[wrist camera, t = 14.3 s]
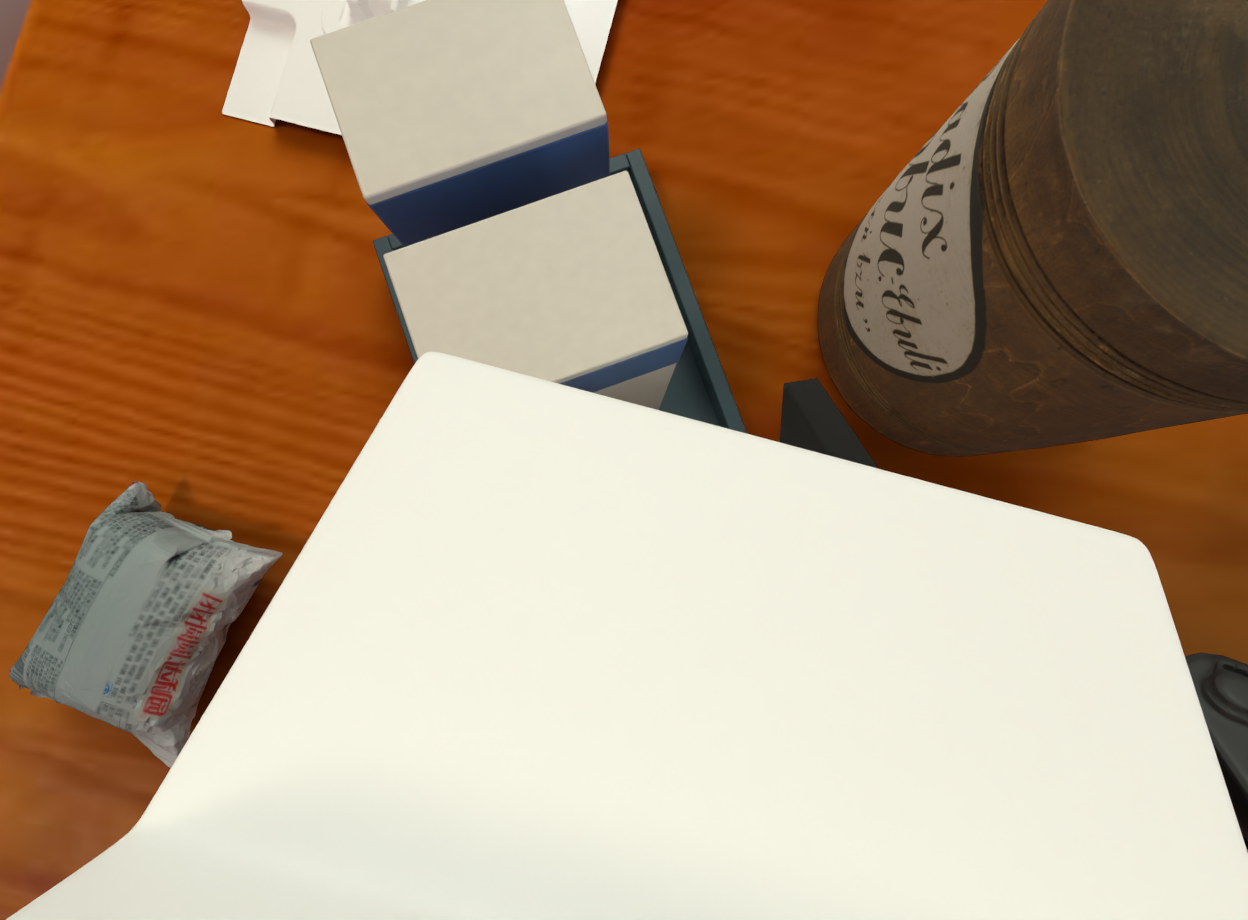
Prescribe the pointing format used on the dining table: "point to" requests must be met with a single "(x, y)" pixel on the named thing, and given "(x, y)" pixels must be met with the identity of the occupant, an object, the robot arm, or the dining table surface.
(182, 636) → the packaged food
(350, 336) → the dining table surface
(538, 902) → the milk
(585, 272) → the carton
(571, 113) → the carton
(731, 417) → the tray
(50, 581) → the dining table surface
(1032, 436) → the wooden container
